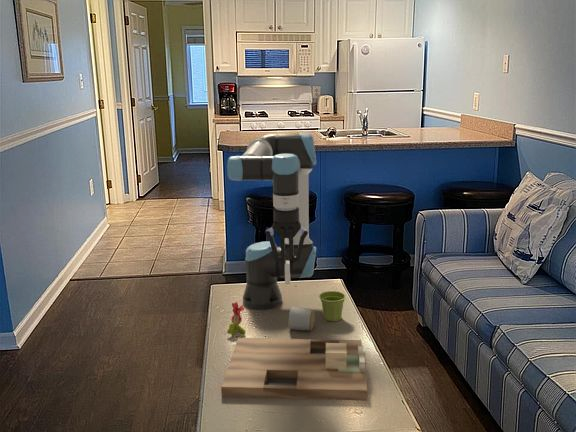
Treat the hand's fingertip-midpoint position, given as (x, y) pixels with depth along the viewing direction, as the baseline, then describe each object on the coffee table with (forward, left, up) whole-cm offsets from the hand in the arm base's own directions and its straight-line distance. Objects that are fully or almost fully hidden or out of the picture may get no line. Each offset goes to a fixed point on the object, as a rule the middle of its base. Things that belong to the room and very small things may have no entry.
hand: (287, 282), depth 169 cm
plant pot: (-27, +14, -24) cm, 39 cm away
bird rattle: (-15, -19, -24) cm, 34 cm away
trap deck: (+10, +3, -24) cm, 26 cm away
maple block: (+11, +15, -21) cm, 28 cm away
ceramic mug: (-19, +3, -24) cm, 31 cm away
